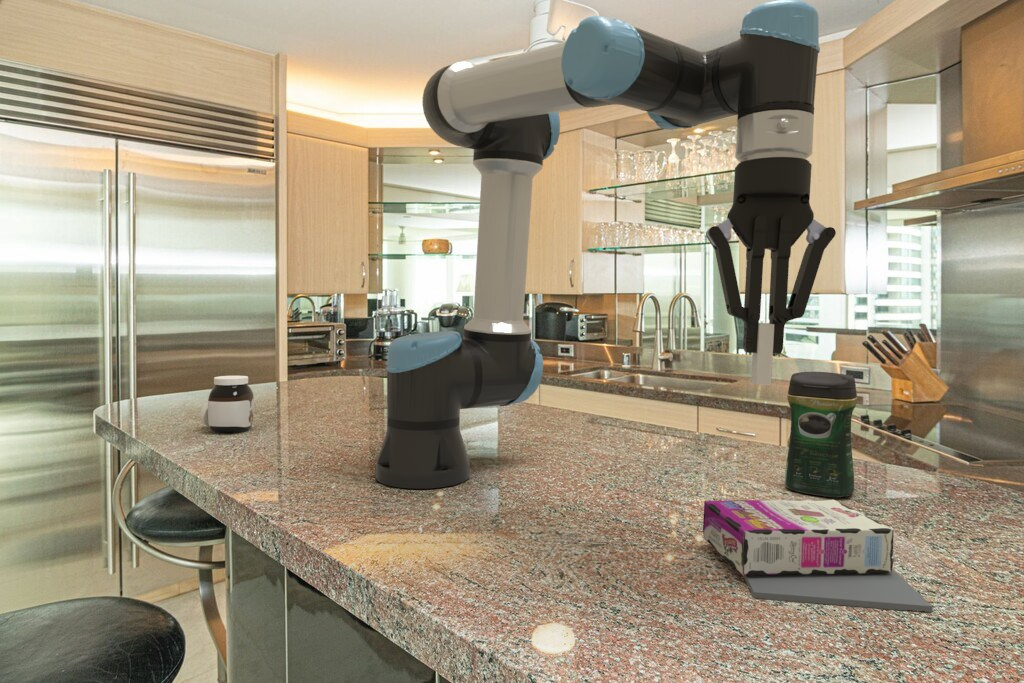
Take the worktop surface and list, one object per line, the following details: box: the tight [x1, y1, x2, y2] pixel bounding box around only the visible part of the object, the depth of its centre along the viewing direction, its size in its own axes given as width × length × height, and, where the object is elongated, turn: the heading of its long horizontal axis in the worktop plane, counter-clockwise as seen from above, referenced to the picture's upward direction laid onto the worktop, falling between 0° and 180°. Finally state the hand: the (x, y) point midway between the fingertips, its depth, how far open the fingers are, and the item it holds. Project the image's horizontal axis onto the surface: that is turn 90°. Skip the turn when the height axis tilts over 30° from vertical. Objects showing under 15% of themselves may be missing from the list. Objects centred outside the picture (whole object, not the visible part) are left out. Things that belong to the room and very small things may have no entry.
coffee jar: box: [784, 371, 858, 498], centre depth 100 cm, size 10×8×19 cm
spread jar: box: [199, 375, 255, 435], centre depth 141 cm, size 12×11×12 cm
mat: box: [742, 568, 934, 613], centre depth 70 cm, size 16×16×1 cm
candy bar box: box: [702, 499, 895, 576], centre depth 72 cm, size 11×5×16 cm
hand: (760, 383), depth 70 cm, fingers closed
